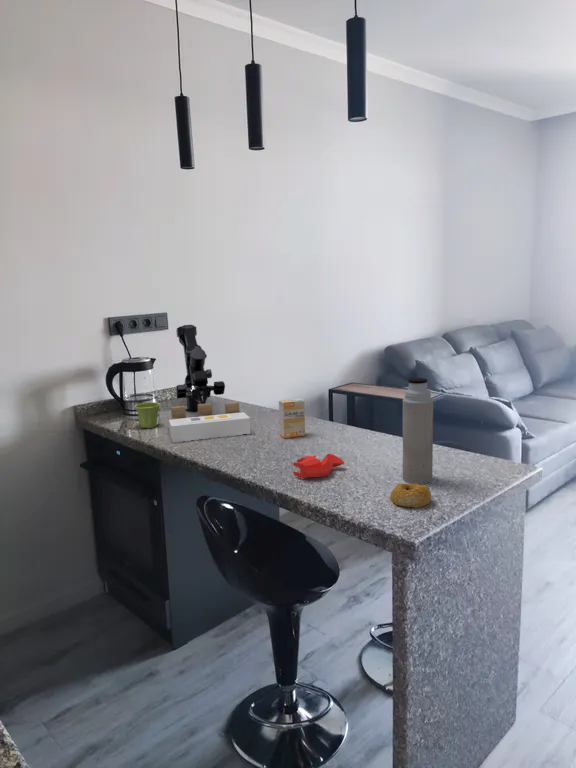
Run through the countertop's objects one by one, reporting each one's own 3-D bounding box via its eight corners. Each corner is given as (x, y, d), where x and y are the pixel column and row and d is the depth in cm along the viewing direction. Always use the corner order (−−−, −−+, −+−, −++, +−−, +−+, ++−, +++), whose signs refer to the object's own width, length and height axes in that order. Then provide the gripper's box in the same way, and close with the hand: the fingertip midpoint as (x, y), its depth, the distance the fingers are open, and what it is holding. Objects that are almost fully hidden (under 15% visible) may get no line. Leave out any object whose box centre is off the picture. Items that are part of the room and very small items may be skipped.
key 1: (172, 427, 217) (170, 407, 216) (185, 426, 218) (184, 405, 217) (173, 429, 215) (171, 408, 213) (186, 427, 216) (185, 407, 215)
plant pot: (165, 426, 224) (163, 405, 222) (141, 431, 219) (139, 408, 217) (156, 422, 232) (154, 401, 230) (133, 426, 226) (131, 404, 225)
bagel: (431, 494, 147) (431, 476, 146) (431, 511, 137) (431, 493, 136) (391, 492, 150) (391, 475, 149) (388, 509, 139) (388, 491, 138)
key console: (168, 430, 218) (166, 413, 217) (240, 422, 226) (239, 406, 225) (172, 442, 201) (171, 424, 200) (250, 434, 209) (249, 416, 208)
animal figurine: (350, 471, 167) (350, 454, 166) (313, 484, 157) (313, 466, 156) (322, 462, 176) (322, 446, 175) (285, 474, 166) (285, 457, 165)
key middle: (198, 424, 220) (197, 404, 218) (211, 423, 221) (210, 403, 220) (199, 426, 217) (198, 405, 216) (213, 425, 219) (211, 404, 217)
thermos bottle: (431, 474, 161) (432, 375, 156) (433, 484, 153) (434, 381, 148) (402, 473, 162) (402, 376, 157) (402, 483, 155) (402, 381, 150)
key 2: (225, 423, 220) (224, 403, 219) (238, 422, 221) (237, 401, 220) (227, 425, 218) (226, 404, 216) (240, 423, 219) (239, 403, 218)
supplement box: (283, 439, 201) (282, 402, 199) (279, 435, 206) (278, 399, 203) (305, 436, 204) (304, 400, 201) (301, 432, 208) (300, 397, 206)
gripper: (174, 364, 221) (179, 397, 212) (222, 360, 226) (229, 393, 217) (174, 381, 229) (179, 414, 221) (220, 377, 235) (227, 409, 226)
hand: (203, 407), depth 221 cm, fingers closed
